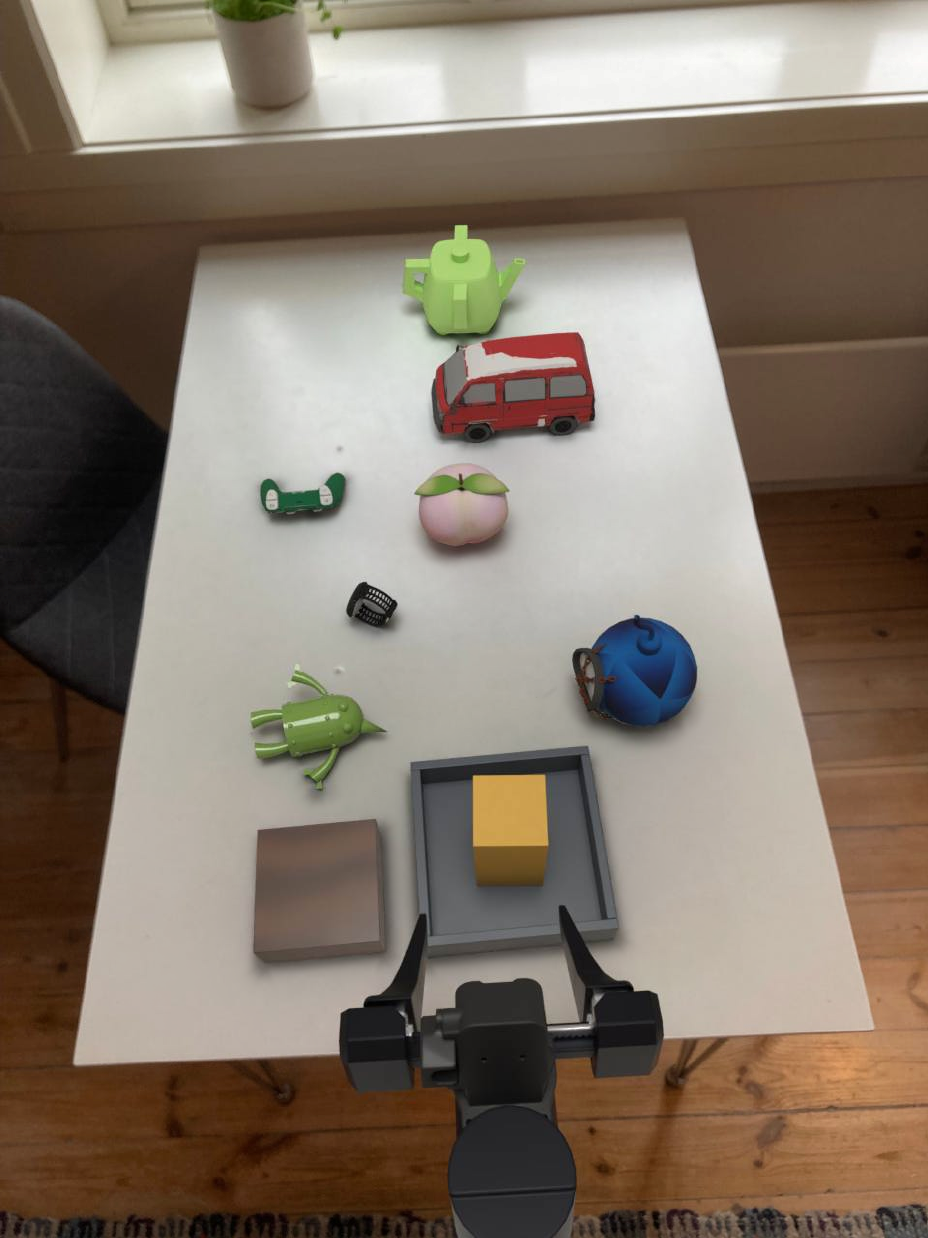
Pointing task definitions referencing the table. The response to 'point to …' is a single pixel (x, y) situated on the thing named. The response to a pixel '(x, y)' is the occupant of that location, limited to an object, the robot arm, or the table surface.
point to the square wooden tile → (319, 891)
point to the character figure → (314, 725)
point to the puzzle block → (510, 830)
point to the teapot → (460, 284)
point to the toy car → (514, 386)
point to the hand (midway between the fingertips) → (492, 912)
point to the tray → (510, 912)
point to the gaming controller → (302, 496)
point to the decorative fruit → (462, 504)
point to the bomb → (637, 672)
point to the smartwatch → (358, 602)
